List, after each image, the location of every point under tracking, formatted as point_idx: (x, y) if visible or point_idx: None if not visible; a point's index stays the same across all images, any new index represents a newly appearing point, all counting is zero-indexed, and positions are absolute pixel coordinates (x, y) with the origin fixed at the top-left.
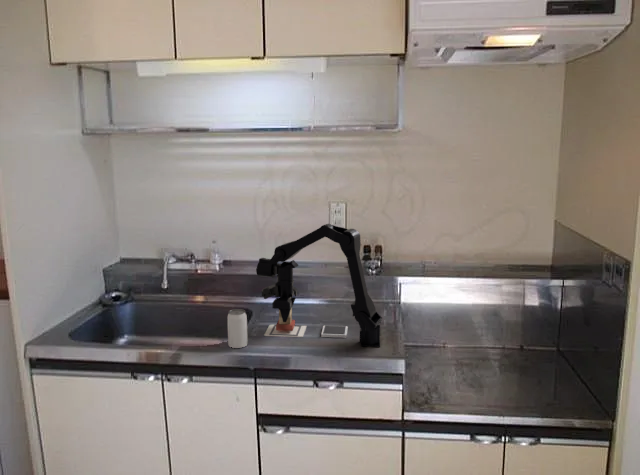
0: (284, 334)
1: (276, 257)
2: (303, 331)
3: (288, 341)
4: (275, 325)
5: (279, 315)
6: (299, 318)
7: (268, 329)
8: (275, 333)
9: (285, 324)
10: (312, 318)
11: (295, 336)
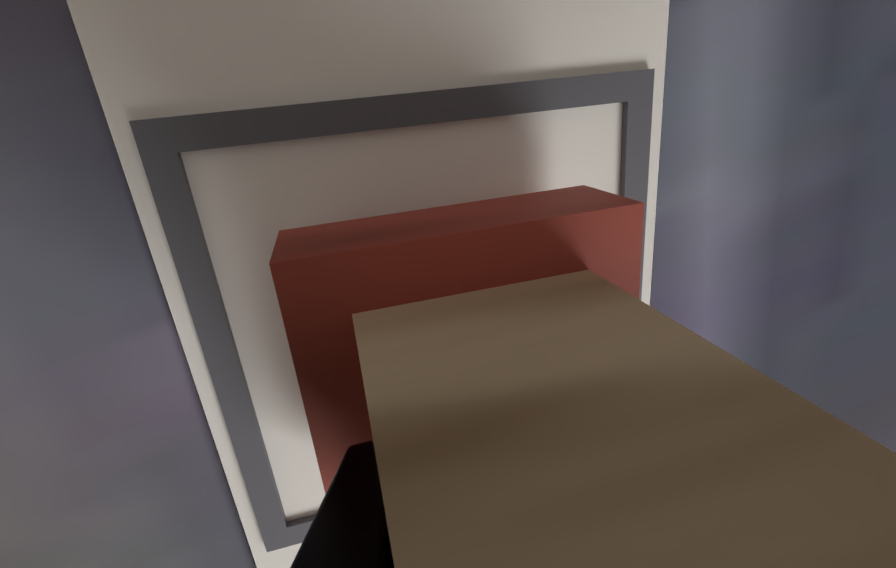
0: (234, 385)
1: None
2: None
3: (22, 509)
4: (615, 96)
5: (380, 466)
6: (882, 318)
7: (424, 8)
8: (256, 213)
9: (365, 438)
10: None
11: (246, 525)
